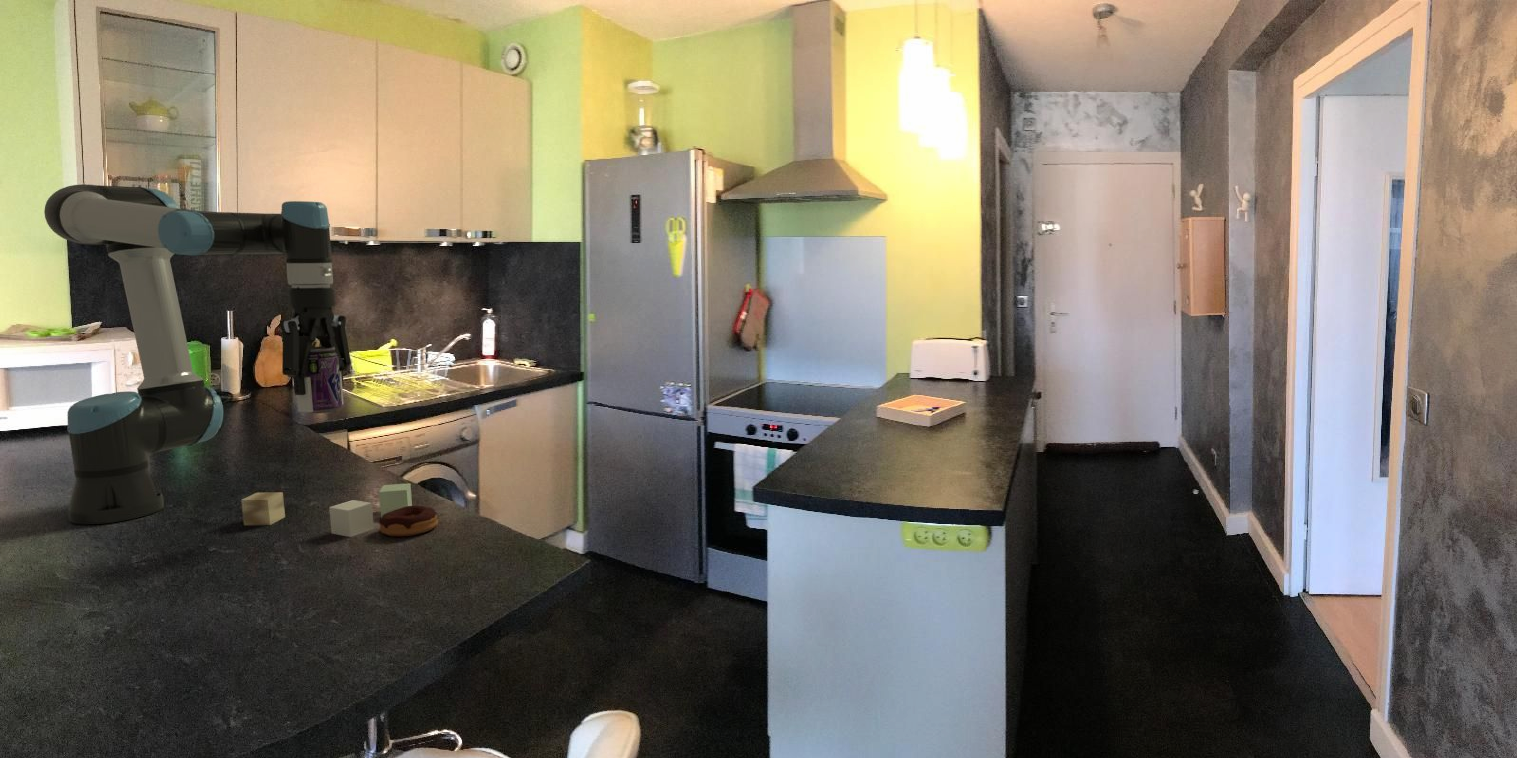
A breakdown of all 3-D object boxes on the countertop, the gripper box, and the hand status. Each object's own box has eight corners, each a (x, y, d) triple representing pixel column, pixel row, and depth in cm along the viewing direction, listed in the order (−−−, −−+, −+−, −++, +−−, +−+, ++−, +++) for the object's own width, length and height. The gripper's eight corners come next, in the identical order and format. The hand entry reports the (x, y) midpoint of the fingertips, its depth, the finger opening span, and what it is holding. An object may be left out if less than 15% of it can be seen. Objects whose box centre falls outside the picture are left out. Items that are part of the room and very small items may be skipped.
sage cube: (380, 517, 166) (378, 492, 165) (385, 509, 171) (383, 485, 170) (408, 514, 167) (406, 489, 166) (412, 507, 172) (410, 483, 171)
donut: (425, 518, 165) (423, 498, 164) (448, 530, 158) (446, 509, 157) (371, 531, 158) (369, 510, 157) (392, 544, 151) (391, 522, 150)
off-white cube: (331, 533, 156) (329, 507, 155) (355, 525, 161) (352, 499, 160) (350, 537, 154) (348, 510, 153) (373, 529, 158) (371, 503, 158)
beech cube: (244, 525, 161) (241, 500, 161) (259, 517, 166) (257, 492, 166) (270, 525, 161) (267, 499, 161) (285, 517, 166) (282, 492, 166)
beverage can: (325, 415, 159) (320, 350, 157) (291, 413, 160) (286, 350, 158) (350, 408, 165) (346, 346, 164) (318, 407, 167) (313, 345, 165)
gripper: (285, 289, 149) (296, 419, 152) (366, 284, 168) (374, 399, 171) (250, 288, 151) (262, 417, 154) (334, 283, 170) (343, 398, 173)
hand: (321, 407), depth 163 cm, fingers closed on beverage can, 7 cm apart
